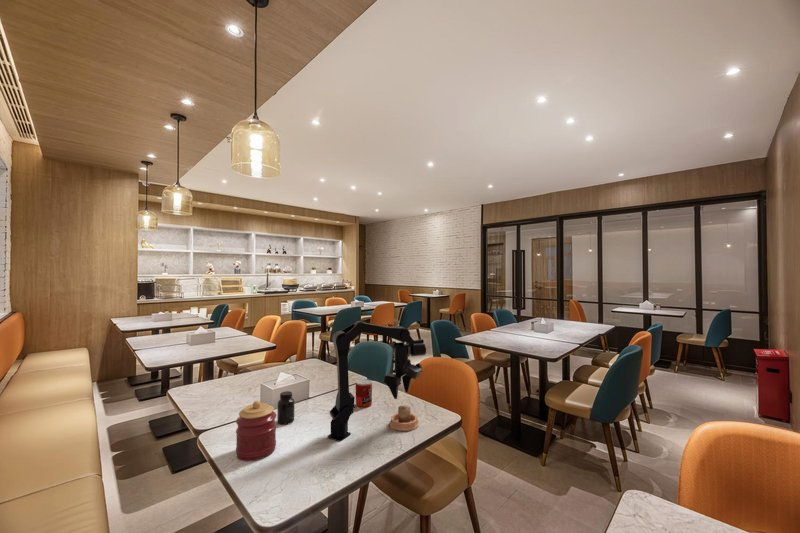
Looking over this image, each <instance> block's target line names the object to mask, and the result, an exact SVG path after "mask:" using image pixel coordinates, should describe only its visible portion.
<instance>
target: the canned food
mask: <svg viewBox="0 0 800 533" xmlns="http://www.w3.org/2000/svg"><path fill="white" fill-rule="evenodd" d="M372 401H373V382H372V380H371V379H368V378H363V379H362V378H361V379H357V380H355V407H358V408H362V409H364V408H365V409H366V408H369V407H371V406H372V404H373V402H372Z"/></svg>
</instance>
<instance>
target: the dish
mask: <svg viewBox="0 0 800 533" xmlns="http://www.w3.org/2000/svg"><path fill="white" fill-rule="evenodd" d="M418 419H419V418H418V415H416V414H414V413H411V412H410V422H409V423H400V422H398V412H397V413H394V414H392V415H391V416H390V421H389V427H390V428H392V429H393V430H395V431H398V432H410V431H414V430H416V429H417V428H418V427H419V425H420V422H419V420H418Z"/></svg>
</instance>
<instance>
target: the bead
mask: <svg viewBox="0 0 800 533" xmlns="http://www.w3.org/2000/svg"><path fill="white" fill-rule="evenodd" d="M397 410H398V411H397V413H398V422H400V423H409V422H410V413H411V406H409V405H399V406H398V407H397Z"/></svg>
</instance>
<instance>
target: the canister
mask: <svg viewBox="0 0 800 533" xmlns="http://www.w3.org/2000/svg"><path fill="white" fill-rule="evenodd" d="M274 410H275V408H274V406H272V405H270V404H268V403H266V402H265V403H264V402H261V401H259V400H255V401H253V402H252V404H250V405H246V406H245V407H244V408H243V409H241V410H239V413H238V417H237V418H236V420H235V423H236V425H237V428H236V430H235V434H236V447H235V454H236V458H238V460H240V461H245V462H252V461H253V462H254V461H258V460H262V459H265V458H268V456H270V455H272V454H273V453H274V452H275V451H276V446H277V438H276V435H277V434H276V426H277V423H276V421H275V420H276V419H277V418H276V417H277V413H276V412H275V411H274Z"/></svg>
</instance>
